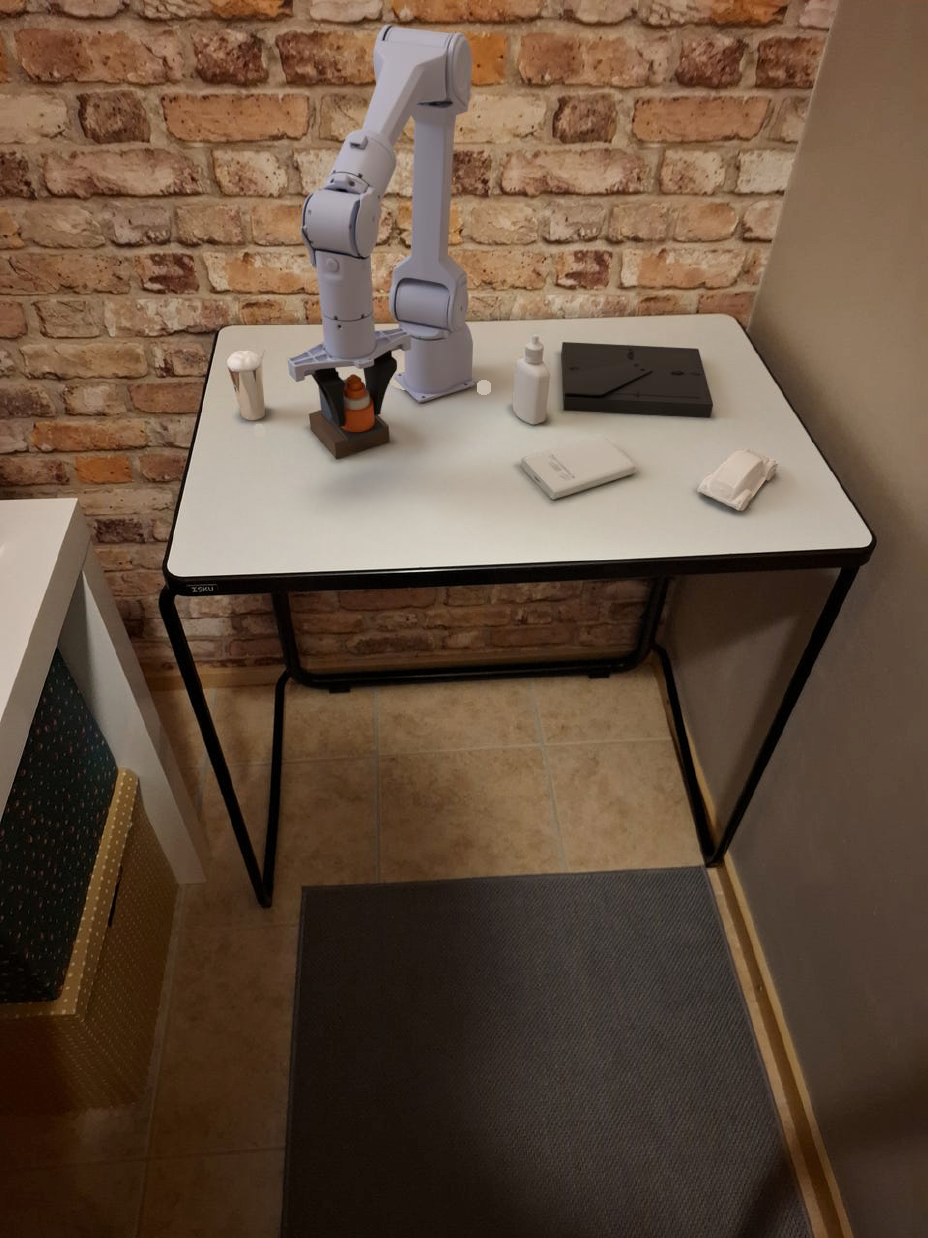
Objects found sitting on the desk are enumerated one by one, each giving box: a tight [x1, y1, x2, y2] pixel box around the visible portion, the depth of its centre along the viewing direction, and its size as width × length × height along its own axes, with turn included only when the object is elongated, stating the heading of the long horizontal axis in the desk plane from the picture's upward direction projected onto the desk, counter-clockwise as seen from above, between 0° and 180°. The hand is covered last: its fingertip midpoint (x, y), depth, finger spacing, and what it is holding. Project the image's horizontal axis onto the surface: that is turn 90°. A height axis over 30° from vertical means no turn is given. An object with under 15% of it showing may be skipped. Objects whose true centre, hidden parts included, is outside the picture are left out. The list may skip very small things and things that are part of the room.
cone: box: [330, 373, 385, 443], centre depth 101 cm, size 5×5×7 cm
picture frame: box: [560, 341, 714, 418], centre depth 126 cm, size 16×3×21 cm
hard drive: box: [520, 433, 637, 500], centre depth 111 cm, size 2×8×12 cm
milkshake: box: [226, 349, 266, 421], centre depth 116 cm, size 4×5×10 cm
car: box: [696, 447, 779, 512], centre depth 108 cm, size 12×6×5 cm, turn 140°
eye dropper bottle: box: [511, 333, 551, 425], centre depth 116 cm, size 4×6×12 cm
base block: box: [308, 409, 391, 460], centre depth 115 cm, size 8×8×2 cm
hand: (356, 416), depth 103 cm, fingers closed on cone, 4 cm apart
